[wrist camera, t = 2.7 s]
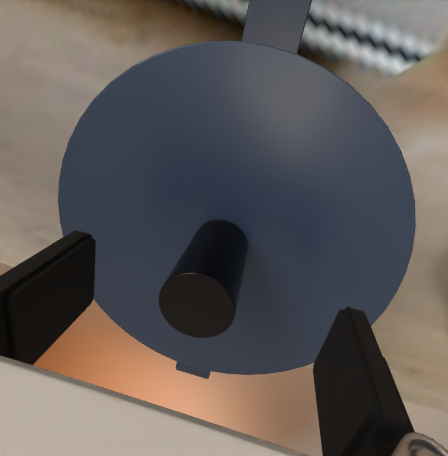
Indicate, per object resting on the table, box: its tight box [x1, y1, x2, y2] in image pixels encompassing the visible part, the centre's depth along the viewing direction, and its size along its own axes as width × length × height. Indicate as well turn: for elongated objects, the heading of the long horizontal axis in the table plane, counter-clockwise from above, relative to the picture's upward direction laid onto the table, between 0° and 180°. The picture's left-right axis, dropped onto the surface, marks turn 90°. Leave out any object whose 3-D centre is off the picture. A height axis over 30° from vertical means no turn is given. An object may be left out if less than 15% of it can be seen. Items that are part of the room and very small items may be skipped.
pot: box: [176, 0, 312, 379], centre depth 19 cm, size 17×22×8 cm
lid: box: [58, 41, 415, 375], centre depth 13 cm, size 18×18×6 cm
